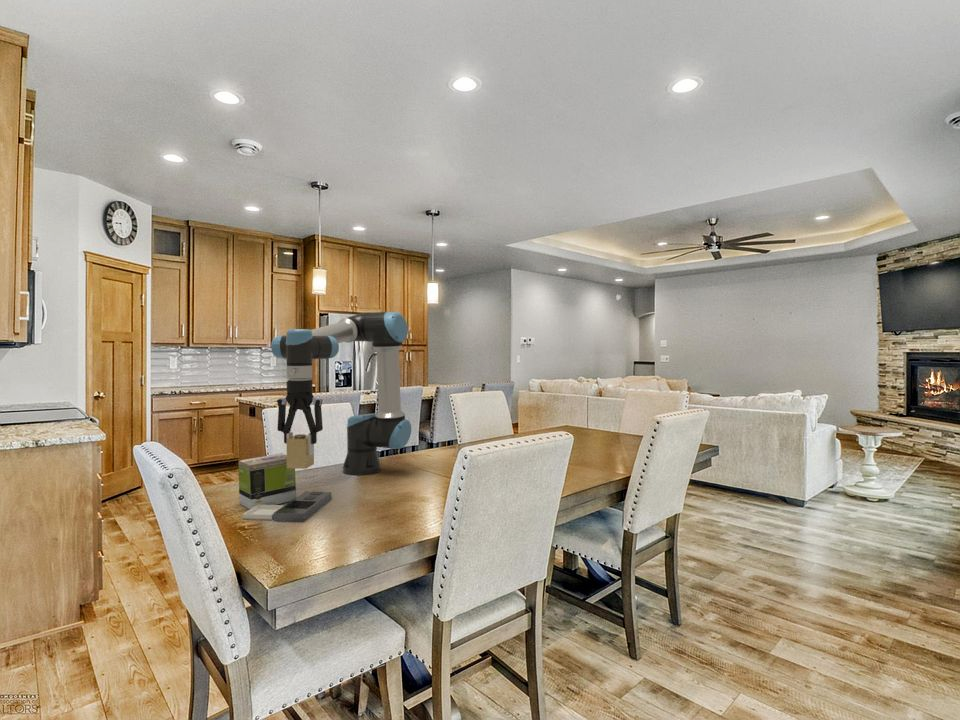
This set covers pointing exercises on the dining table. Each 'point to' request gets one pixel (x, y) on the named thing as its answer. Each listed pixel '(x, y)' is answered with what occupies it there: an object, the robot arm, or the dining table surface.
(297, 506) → the rail
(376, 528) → the dining table surface
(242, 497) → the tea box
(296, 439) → the brass rectangular block
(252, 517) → the tray
